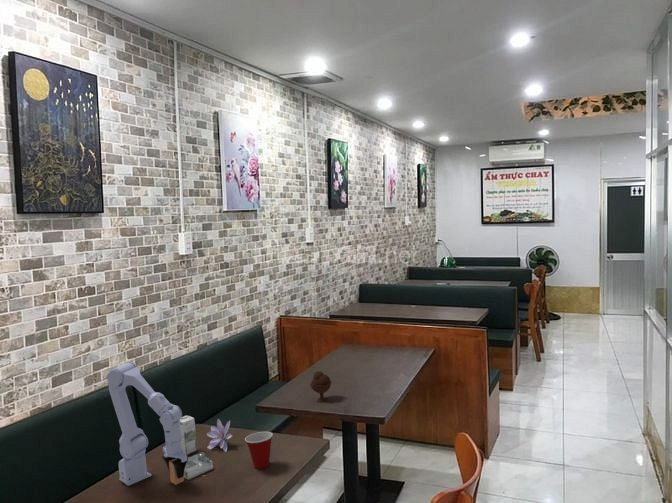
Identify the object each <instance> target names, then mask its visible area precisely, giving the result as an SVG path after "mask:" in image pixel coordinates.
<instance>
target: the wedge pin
mask: <svg viewBox="0 0 672 503" xmlns="http://www.w3.org/2000/svg"><path fill="white" fill-rule="evenodd" d="M174 460H177V458H175V459H173V460H171V461H169V468H170V472H169V477H170V483H172V484H174V485H175V486H176V485H179V484H181V483H183V482H185V478H184V476H183V477H181V478H178V477H177V474H176V470H175V467H174V465H173V463H172V461H174Z"/></svg>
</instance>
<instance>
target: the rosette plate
mask: <svg viewBox="0 0 672 503" xmlns="http://www.w3.org/2000/svg"><path fill="white" fill-rule="evenodd" d="M187 458H188V461H187V463H186V466H185V470H184V480H185V479H186V480H187V481H189V480H192V479H193V478H196V477H198V476H200V475H202V474H205V473H207V472H209V471H212V470H213V469H214V465H213V463H214V462H213V461H212V460H211V459H210V458H209V457H206V453H205V452H202V451H201V452H198V453H196V454H193V455H192V456H189V457H187Z"/></svg>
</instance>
